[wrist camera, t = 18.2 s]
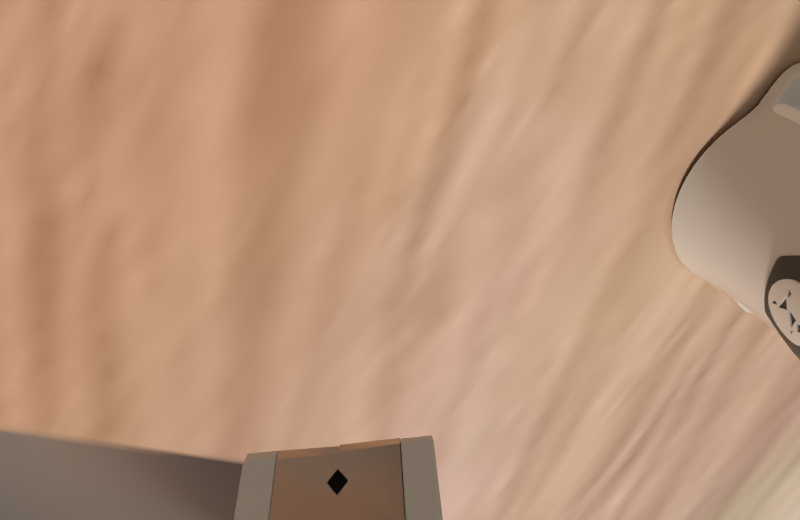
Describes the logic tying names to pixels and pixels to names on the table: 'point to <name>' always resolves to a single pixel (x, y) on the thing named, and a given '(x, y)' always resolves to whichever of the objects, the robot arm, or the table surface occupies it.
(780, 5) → the table surface
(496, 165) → the table surface
